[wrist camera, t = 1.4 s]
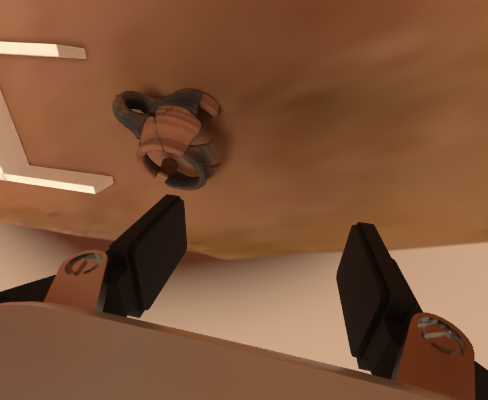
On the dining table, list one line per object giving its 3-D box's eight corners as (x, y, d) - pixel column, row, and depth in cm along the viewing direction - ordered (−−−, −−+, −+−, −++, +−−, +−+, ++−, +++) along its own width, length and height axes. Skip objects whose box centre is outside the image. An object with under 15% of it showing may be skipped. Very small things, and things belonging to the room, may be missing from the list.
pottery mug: (247, 112, 26) (228, 169, 22) (214, 156, 34) (195, 205, 29) (138, 43, 22) (90, 97, 18) (129, 110, 30) (93, 159, 26)
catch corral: (-25, 42, 28) (-64, 38, 25) (84, 48, 26) (56, 44, 23) (26, 170, 35) (0, 179, 32) (113, 183, 33) (95, 193, 30)
